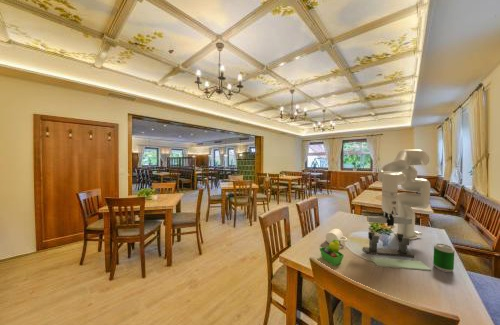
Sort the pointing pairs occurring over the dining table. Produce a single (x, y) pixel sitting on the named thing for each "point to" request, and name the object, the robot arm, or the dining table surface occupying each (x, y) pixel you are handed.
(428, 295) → the dining table surface
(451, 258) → the soda can
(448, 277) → the dining table surface
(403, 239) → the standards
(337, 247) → the fruit basket
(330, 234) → the mug
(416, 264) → the mat
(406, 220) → the rail
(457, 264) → the dining table surface
